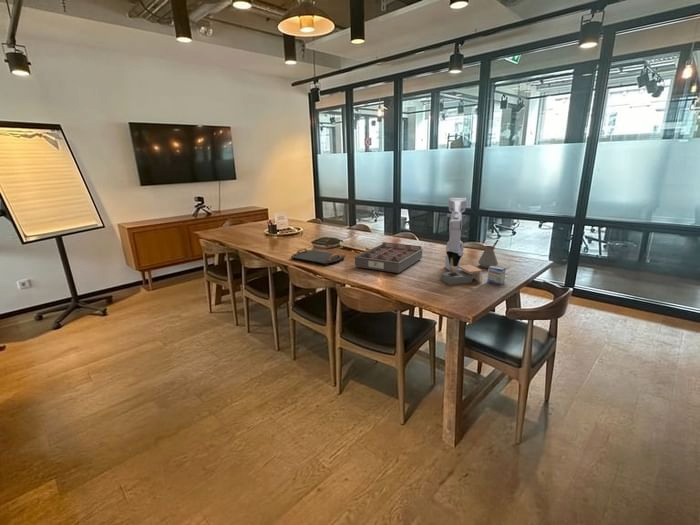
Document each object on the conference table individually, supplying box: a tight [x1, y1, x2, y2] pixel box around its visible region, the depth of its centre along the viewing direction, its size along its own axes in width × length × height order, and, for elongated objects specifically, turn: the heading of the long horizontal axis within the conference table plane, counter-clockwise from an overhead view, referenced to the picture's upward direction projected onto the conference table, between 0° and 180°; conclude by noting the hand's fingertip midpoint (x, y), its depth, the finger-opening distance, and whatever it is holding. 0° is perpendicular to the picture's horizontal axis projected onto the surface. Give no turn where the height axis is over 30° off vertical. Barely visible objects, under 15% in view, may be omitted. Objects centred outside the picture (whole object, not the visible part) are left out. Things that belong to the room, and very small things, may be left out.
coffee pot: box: [478, 239, 500, 269], centre depth 224 cm, size 21×12×15 cm, turn 138°
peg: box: [449, 258, 457, 273], centre depth 195 cm, size 4×4×8 cm
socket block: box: [440, 270, 474, 286], centre depth 198 cm, size 10×14×4 cm
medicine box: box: [487, 265, 507, 286], centre depth 193 cm, size 8×4×9 cm, turn 44°
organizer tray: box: [353, 241, 424, 274], centre depth 234 cm, size 32×40×10 cm
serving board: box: [290, 248, 346, 267], centre depth 250 cm, size 39×23×6 cm, turn 54°
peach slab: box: [458, 264, 483, 283], centre depth 199 cm, size 12×8×7 cm
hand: (453, 265), depth 195 cm, fingers closed on peg, 3 cm apart
